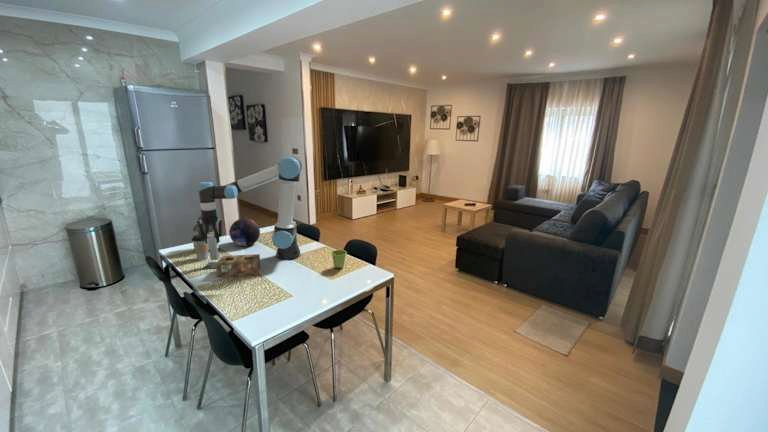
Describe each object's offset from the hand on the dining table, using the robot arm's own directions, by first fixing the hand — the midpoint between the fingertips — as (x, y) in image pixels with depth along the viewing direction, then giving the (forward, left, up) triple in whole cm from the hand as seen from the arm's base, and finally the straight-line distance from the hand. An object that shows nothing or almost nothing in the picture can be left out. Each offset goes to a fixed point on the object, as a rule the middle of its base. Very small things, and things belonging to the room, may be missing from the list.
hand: (213, 248), depth 179 cm
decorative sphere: (-9, -37, -11) cm, 40 cm away
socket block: (-17, +12, -11) cm, 23 cm away
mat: (0, 0, -11) cm, 11 cm away
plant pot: (-73, +11, -11) cm, 74 cm away
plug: (0, 0, -7) cm, 7 cm away
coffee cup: (+11, -13, -11) cm, 21 cm away
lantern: (+14, -30, -11) cm, 35 cm away
